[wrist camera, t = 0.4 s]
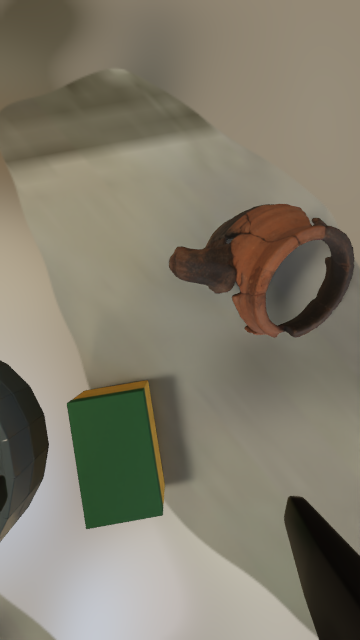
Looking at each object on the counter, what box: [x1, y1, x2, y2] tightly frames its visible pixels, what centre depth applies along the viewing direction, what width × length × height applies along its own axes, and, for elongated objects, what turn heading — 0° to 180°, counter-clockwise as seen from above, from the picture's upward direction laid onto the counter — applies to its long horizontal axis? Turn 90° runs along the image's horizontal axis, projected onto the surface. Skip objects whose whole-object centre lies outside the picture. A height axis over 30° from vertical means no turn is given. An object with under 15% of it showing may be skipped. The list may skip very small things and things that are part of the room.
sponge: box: [67, 380, 165, 529], centre depth 17 cm, size 9×6×3 cm, turn 9°
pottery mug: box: [169, 204, 354, 338], centre depth 17 cm, size 12×10×8 cm
